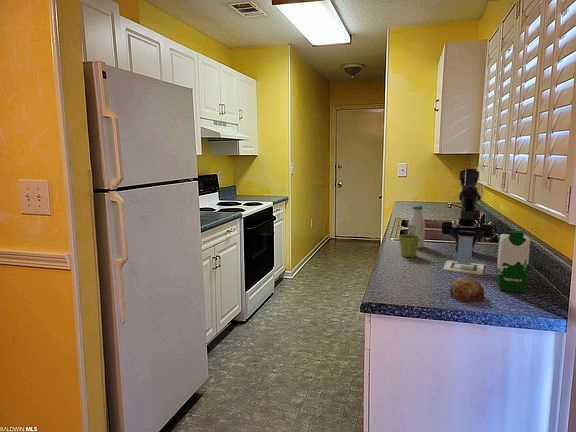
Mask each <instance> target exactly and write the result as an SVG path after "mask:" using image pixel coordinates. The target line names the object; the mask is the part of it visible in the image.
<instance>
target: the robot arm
mask: <svg viewBox="0 0 576 432" xmlns="http://www.w3.org/2000/svg"><path fill="white" fill-rule="evenodd" d="M479 179H480V171H478V170H477V169H476V168H464V169H463V170H460V171H459V180H458V181H460V186H461V192H459V198H458V201H460V204H461V206H460V216H459V219H458V223H457V224H456V223H453V221H447V220H446V221H445V220H444V221H442V222H441V234H442V235H449V236H450V237H452V238H453V239H454V242H455V250H456V253H458V240H459V236H465V237H473V243H472V252H474V251H473V249H474V247H475V246H476V244H477V242H479V241H480V239H484V238H489V239H490V238H492V237H493V233H494V232H493V231H494V225H493V224H492V223H491V224H490V223H481V227H480V226H476V220H480V215H481V214H480V212H481V211H480V210H478V209H477V205H478V202H480V200H481V199H482V196H481V194H480V192H479V191H478V189H479V188H477V185H478V184H477V183H478V182H479Z"/></svg>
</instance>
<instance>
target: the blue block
mask: <svg viewBox="0 0 576 432" xmlns="http://www.w3.org/2000/svg"><path fill="white" fill-rule="evenodd" d="M472 243H473V237H465V236H459V240H458V252H457V258H456V261H457V263H458V264H467V265H471V263H472V255H473V251H472V250H473V248H472Z"/></svg>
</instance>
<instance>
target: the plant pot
mask: <svg viewBox="0 0 576 432" xmlns="http://www.w3.org/2000/svg"><path fill="white" fill-rule="evenodd" d="M397 237H398V238H399V239H398V240H399V245H400V253H401V254H400V255H401V256H402V257H405V258H410V257H411V258H414V257H416V256H417V252H418V248H417V247H418V242H419V239H420V238H421V237H420V236H417V235H408V234H399V235H398V236H397Z"/></svg>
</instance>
